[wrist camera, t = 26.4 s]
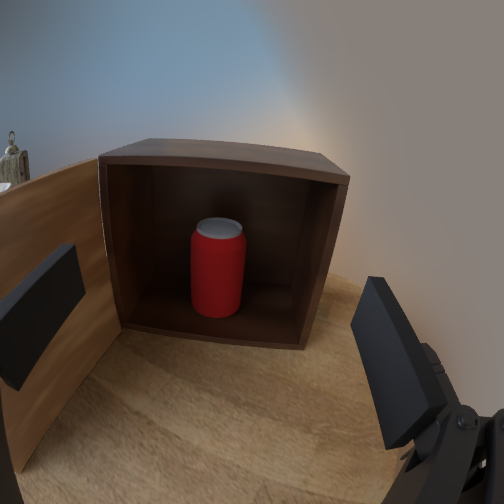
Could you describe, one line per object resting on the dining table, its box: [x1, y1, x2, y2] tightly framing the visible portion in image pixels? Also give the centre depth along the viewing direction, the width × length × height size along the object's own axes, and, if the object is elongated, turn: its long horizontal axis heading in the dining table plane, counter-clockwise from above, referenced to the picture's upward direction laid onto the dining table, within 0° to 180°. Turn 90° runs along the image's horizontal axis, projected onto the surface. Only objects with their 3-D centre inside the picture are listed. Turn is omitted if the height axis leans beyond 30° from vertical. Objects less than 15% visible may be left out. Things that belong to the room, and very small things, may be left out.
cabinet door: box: [0, 158, 122, 474], centre depth 18 cm, size 6×24×22 cm, turn 168°
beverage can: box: [191, 218, 247, 318], centre depth 36 cm, size 7×7×12 cm
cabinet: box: [98, 139, 350, 350], centre depth 35 cm, size 14×24×22 cm, turn 88°
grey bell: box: [0, 131, 30, 186], centre depth 61 cm, size 14×9×25 cm, turn 31°
